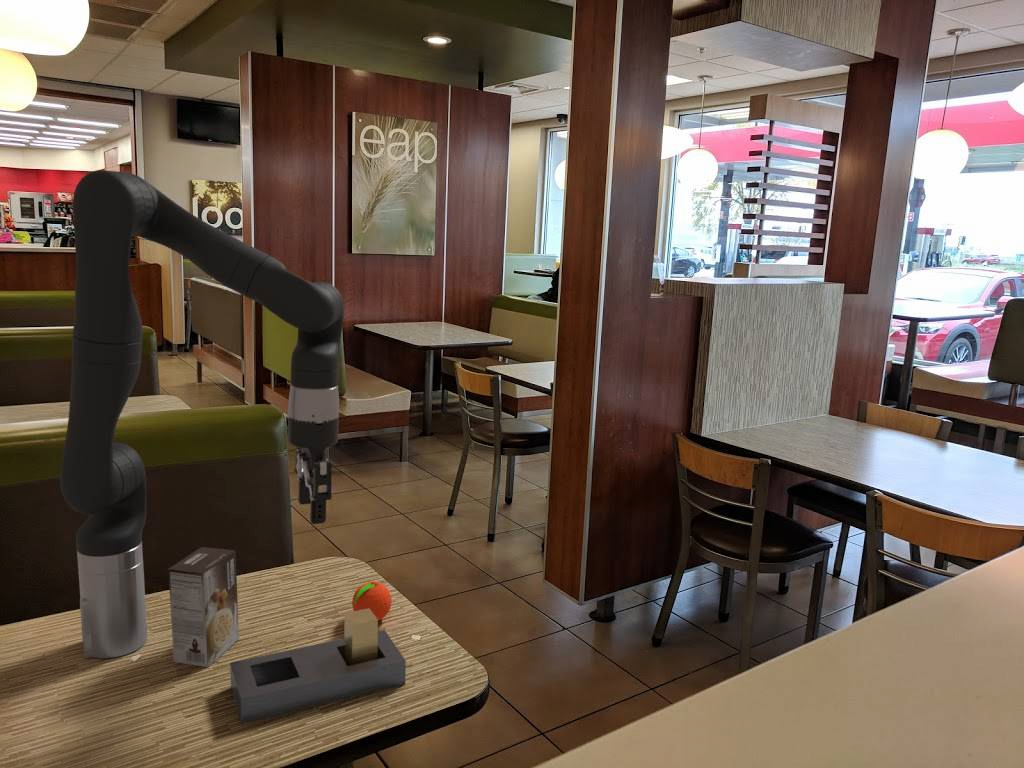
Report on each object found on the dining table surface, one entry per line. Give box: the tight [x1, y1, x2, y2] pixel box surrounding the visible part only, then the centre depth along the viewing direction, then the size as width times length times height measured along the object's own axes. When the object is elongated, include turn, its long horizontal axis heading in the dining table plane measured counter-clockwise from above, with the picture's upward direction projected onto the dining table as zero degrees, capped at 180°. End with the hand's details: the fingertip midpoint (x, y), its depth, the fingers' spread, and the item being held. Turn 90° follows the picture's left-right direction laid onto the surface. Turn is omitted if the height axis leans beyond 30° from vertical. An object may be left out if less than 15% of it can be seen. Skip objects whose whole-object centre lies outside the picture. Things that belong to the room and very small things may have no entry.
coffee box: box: [167, 546, 240, 668], centre depth 124 cm, size 9×6×16 cm
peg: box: [343, 608, 379, 666], centre depth 119 cm, size 4×4×10 cm
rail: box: [229, 629, 407, 725], centre depth 117 cm, size 24×10×4 cm, turn 118°
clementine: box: [351, 581, 393, 622], centre depth 136 cm, size 8×7×7 cm
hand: (311, 512), depth 122 cm, fingers open, 8 cm apart
